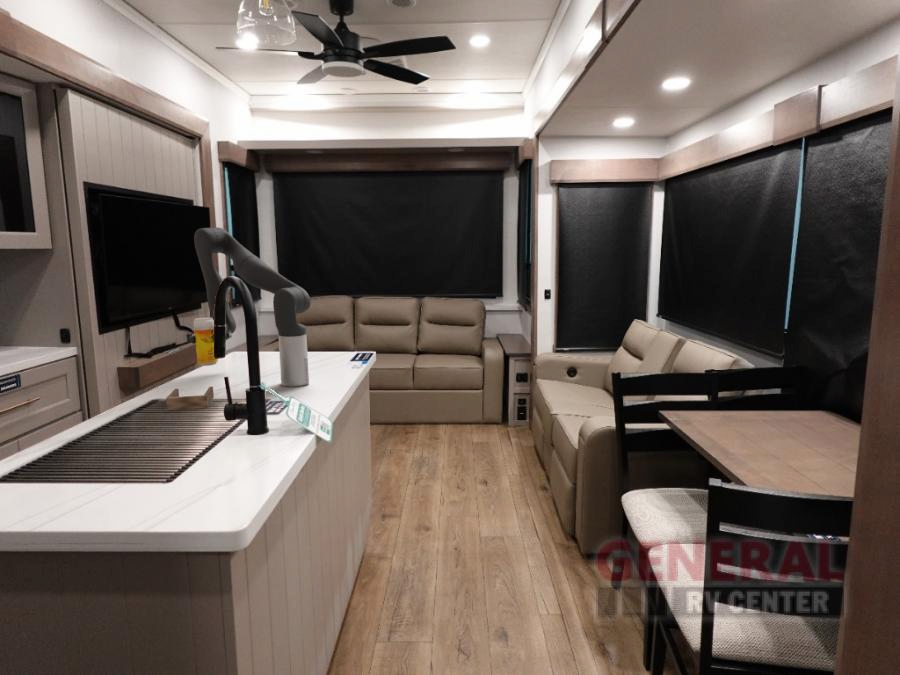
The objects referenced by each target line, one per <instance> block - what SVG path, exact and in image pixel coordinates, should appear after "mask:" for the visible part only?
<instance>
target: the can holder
mask: <svg viewBox="0 0 900 675" xmlns="http://www.w3.org/2000/svg"><path fill="white" fill-rule="evenodd" d="M179 390H180V389H179V388H174V389H173V390H172V392H171V393H170V394H169V395H168V396H166V398H165V400H166V401H165V402H166V411H176V410H178V411H179V410H189V409H190V410H191V409H192V410H193V409H205V408H209V406H210V404H211V403H212V401H213V400H214V398H215V397H214V396H215V394H214V386H208V388H207V390H206V391H205V392H204V394H201V395H186V396H180V392H179Z"/></svg>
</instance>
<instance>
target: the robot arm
mask: <svg viewBox="0 0 900 675" xmlns="http://www.w3.org/2000/svg"><path fill="white" fill-rule="evenodd" d="M193 238H194V239H193V240H194V241H193V242H194V247H195V248H194V249H195V252H196V255H197V258H198V262H199V266H200V269H201V272H202V275H203V276H202V277H203V279H204V282H205V289H206V290H205V291H206V298H207V304H208V305H207V306H208V309H209V310H211V311H215V310H214V304H215V296H216V293H217V290H218V288H219V285H220V283H221V282H222V281H224V279H223V278H222V276H221V274H219V272H218V271H217V269H216V267H215V265H214V260H213V254H223V255H225V256H226V257H228V258H229V259H230V260H232V266H233V270H234V271H235V272H234V273H236V275H237V276H239V277H240V278H241V279H243V281H245V282H246V283H247V284H248V285H250V286H252V287H254V288H257V289H260V290H261V291H262V290H263V291H265V292H269V293H271V294H273V304H272V305H273V306H272V307H273V315H274V323H275V327H276V330H277V334H278V348H279V351H278V352H279V366H280V368H279V370H280V381H281V382H280V383H281V384H280V385H282V386H283V387H301V386H305V385H309V384H310V375H309V374H310V373H309V357H308V344H307V343H308V342H307V340H308V339H307V327H306V325H304V324H301V323H300V322H298V319H297V315H299V314H302V313H305V312H307V311H308V310H309V308H311V304H312V303H311V302H312V301H311V298H310V296H309V294H308V292H307V291H306V290H305V289H304V288H303V287H301V286H299V285H298V284H297V283H294V282H292V281H291V280H289V279H288V278H286V277H285V276H283V275H281V274H280V273H279V272H278V271H276V270H275V269H274V268H272V267H271V266H269V265H268V264H267V263H266V262H265V261H263V260H262V259H261V258H259V257H258V256H256V255H255V254H253V253H252V252H251V251H250V250H248V249H247V248H246V247H244V245H242V244H241V243H240V242H239V241H237V240H236V238H234V237H233V235H231V234H230V233H229V232H228V231H227V230H226V229H224V228H222V227H202V228H198V229H197V230H196V231H195V233H194V237H193ZM210 317H211V318H213V320H214V316H213V315H212V316H210ZM236 329H237V323H236V319H235V318H234V315H233V313H232V310H231V307H230V304H229V296H228V294H227V301H226V340H225V341H228V340H229V339H231V338H232V334H233V333H235V332H236ZM185 336H186V342H187V343H191V344H196V343H195V333H194V332H191V331H188V332H186V334H185Z"/></svg>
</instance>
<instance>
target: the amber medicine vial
mask: <svg viewBox="0 0 900 675" xmlns="http://www.w3.org/2000/svg"><path fill="white" fill-rule="evenodd" d="M211 317H212V316H209V317H208V316H207V317H197V318H194V319H193V320H194V321H193V331H194V332H193V334H195V343H194V344H195V352H196V362H197V364H198V365H199V367H200V366H201V367H205V366H206V367H208V366H209V367H210V366H214V365H217V363H218V361H219V358H218V359H215V357H214V320H213V318H211Z"/></svg>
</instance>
